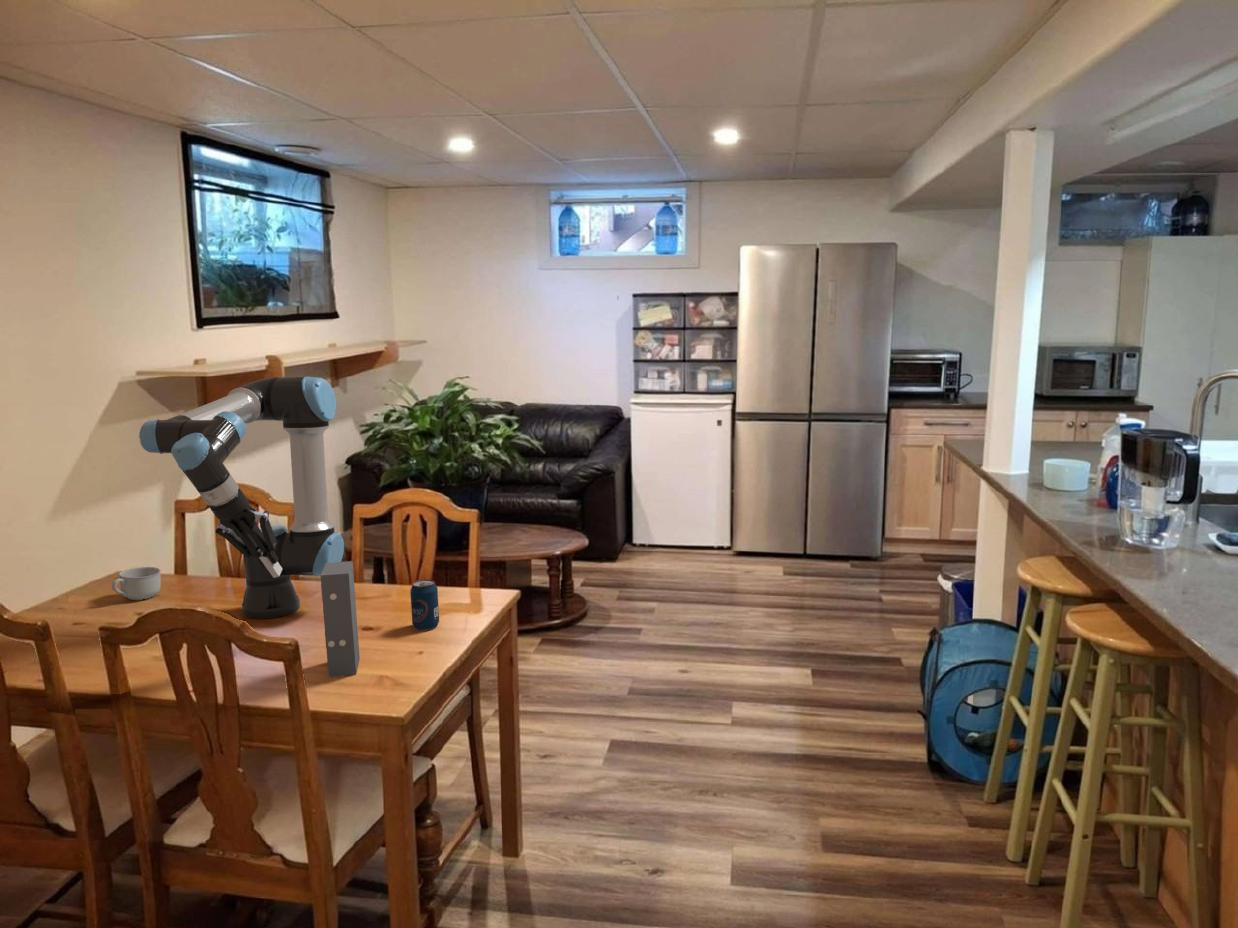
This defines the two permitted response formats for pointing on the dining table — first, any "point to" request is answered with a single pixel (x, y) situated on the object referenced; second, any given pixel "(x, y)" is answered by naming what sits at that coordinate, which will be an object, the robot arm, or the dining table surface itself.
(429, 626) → the soda can
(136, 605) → the dining table surface
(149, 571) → the teacup
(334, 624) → the post
